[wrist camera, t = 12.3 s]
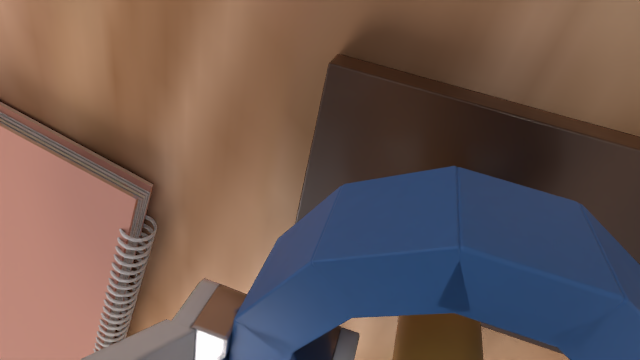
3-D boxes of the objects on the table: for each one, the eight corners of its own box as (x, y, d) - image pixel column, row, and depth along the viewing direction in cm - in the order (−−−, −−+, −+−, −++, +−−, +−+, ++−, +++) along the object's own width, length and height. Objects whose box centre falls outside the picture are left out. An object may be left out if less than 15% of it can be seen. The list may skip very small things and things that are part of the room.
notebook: (106, 417, 38) (90, 439, 36) (-64, 325, 38) (-88, 343, 36) (174, 191, 23) (152, 212, 21) (-108, 40, 23) (-152, 48, 21)
